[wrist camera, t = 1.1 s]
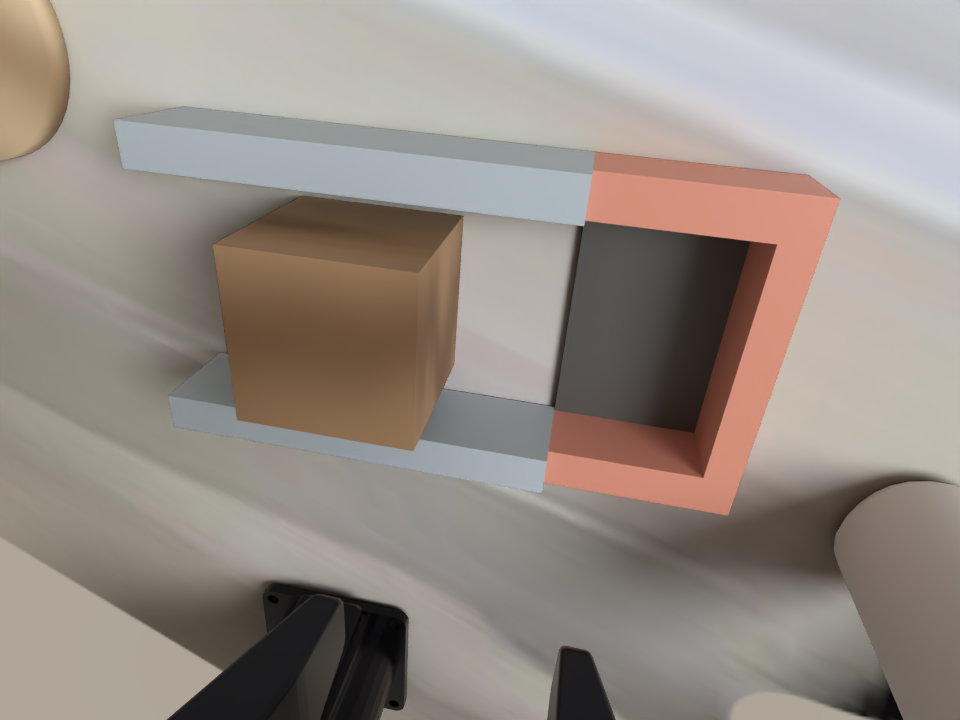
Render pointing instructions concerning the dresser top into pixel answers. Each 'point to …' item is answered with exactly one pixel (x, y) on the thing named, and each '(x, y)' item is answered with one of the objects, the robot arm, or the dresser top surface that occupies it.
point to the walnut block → (341, 317)
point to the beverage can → (909, 590)
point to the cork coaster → (31, 76)
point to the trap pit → (680, 325)
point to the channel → (384, 177)
